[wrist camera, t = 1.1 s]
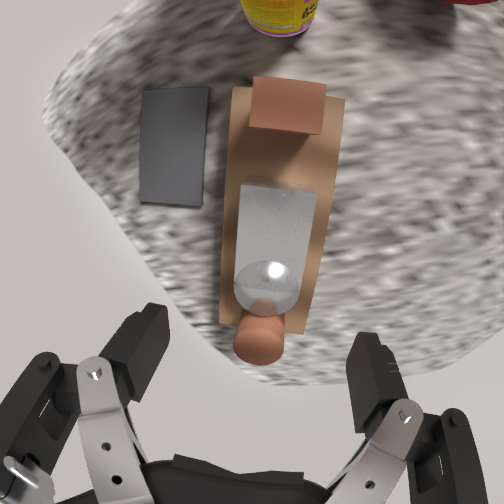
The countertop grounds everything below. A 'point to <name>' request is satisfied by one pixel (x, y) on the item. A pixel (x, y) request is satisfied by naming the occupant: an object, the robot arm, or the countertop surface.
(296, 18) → the supplement bottle
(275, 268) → the lever cap
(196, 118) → the rubber mat
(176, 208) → the countertop surface
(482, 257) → the countertop surface
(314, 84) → the plane body
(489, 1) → the apple
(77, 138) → the countertop surface
